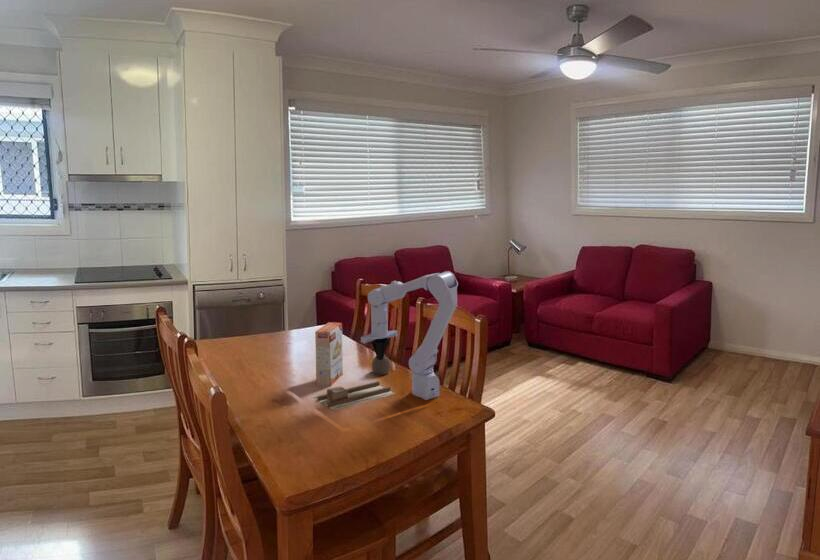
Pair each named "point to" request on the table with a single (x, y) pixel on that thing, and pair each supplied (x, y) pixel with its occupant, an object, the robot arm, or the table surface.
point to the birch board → (357, 395)
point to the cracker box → (328, 354)
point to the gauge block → (336, 393)
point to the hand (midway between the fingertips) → (379, 359)
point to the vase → (381, 366)
